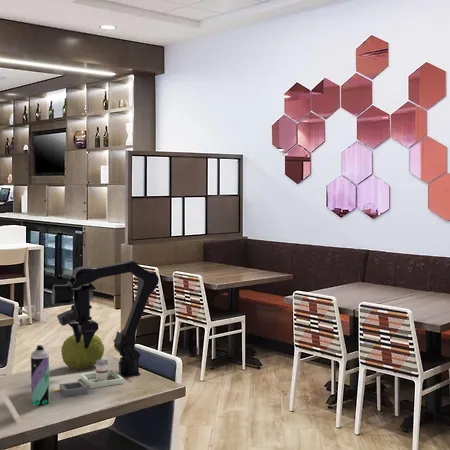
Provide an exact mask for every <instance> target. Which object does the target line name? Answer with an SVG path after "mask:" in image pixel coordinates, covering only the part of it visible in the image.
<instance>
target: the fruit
mask: <svg viewBox="0 0 450 450" xmlns="http://www.w3.org/2000/svg"><path fill="white" fill-rule="evenodd" d="M60 352H61V358H62V361H63V363H64V364H65V365H66V366H67V367H68V368H71V369H72V370H83V369H86V368H91V367H93V366H96V361H97V360H101V359H102V358H103V356H104V352H105V345H104V344H103V341H102V338H100V337H99V336H98V335H97V334H94V336H93V338H92V340H91V342H90V344H89V346H88V348H87V349H85V348H84V344H83V337H82V336H81V339H80V342H79V343H76V340H75V336H74V333H73V334H72V335H70V336H68V337H67V338H66V339H65V340H64V341H63V343H62V346H61V351H60Z"/></svg>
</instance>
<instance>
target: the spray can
mask: <svg viewBox="0 0 450 450" xmlns="http://www.w3.org/2000/svg"><path fill="white" fill-rule="evenodd" d="M30 374H31V375H30V376H31V378H30V379H31V380H30V382H31V384H30V385H31V405H32V406H34V407H43V406H46V405H49V404H50V401H51V400H50V398H51V397H50V396H51V395H50V355H49V351H48V350H45V348H44V346H43V345H42V344H37V345H36V348H35V349H34V351H32V352H31V355H30Z"/></svg>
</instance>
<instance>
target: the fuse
mask: <svg viewBox="0 0 450 450" xmlns="http://www.w3.org/2000/svg"><path fill="white" fill-rule="evenodd" d="M108 363H109V361H108V359H102V358H101V360H97V361H96V364H95V372H96V377H95V380H96V381H95V382H99V381H106V380H109V379H108V378H109V375H108V370H109V366H108V365H109V364H108Z"/></svg>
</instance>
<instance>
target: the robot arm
mask: <svg viewBox="0 0 450 450" xmlns="http://www.w3.org/2000/svg"><path fill="white" fill-rule="evenodd" d="M128 273H131V274H132V275H133V276H134V277H136V278H137V286H136V288H137V289H136V290H137V291H136V295H135V299H134V300H133V304H132V306H131V308H130V311H129V315H128V318H127V320H126V323H125V325H124V328H123V329H122V330H121V331H116V334H115V338H114V340H113V343H114V345H113V347H114V349H115V351H116V352H117V353H119V356H120V357H119V361H118V374H119V375H120V376H121V377H122V378H127V377H133V376H139V375H140V376H141V372H140V356H141V353H140V352H139V351H138V350H136V349H135V346H136V342H137V341H136V338H137V337H136V335H137V334H136V333H137V330H138V327H139V325H140V323H141V318H142V316H143V313H144V311H145V308H146V305H147V302H148V301H149V300H148V299H149V297H150V296H151V295H152V294H153V293H154V291H155V289H156V288H157V286H158V284H159V281H160V278H159V276H158V274H157V273H155V272H153V271H150V270H146V269H145V268H144V267H142V266H140V265H139V264H138V263H137V262H136V261H133V260H131V259H130V260H127V261H122V262H117V263H111V264H105V265H101V266H77V267H75V268H74V269H73V271H72V273H71V277H70V278H69V280H68V281H67V283H66V284H53V285H52V289H51V294H50V297H51V303H52V305H65V304H70V303H71V302H72V301H73V304H72V305H71V306H70V309H69V310H65V311H64V312H62V313H60V314H58V315H56V317H57V321H58V324H59V325H62V327H64V326H67V325H68V326H69V327H71V328H72V329H71V330H72V331H73V334H74V336H75V340H76V343H79V342H80V339H81V336H82V337H83V344H84V348H85V349H87V348H88V346H89V344H90V342H91V340H92V338H93V336H94V335H96V333H97V331H99V323H97V322H96V321H95V320H93V317H92V316H91V309H92V308H93V307H92V306H93V305H91V291H95V290H97V288H96V287H95V286H94V285H93V284H92V283H93V282H95V281H97V280H99V279H102V278H106V277H112V276H118V275H123V274H128Z"/></svg>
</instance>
